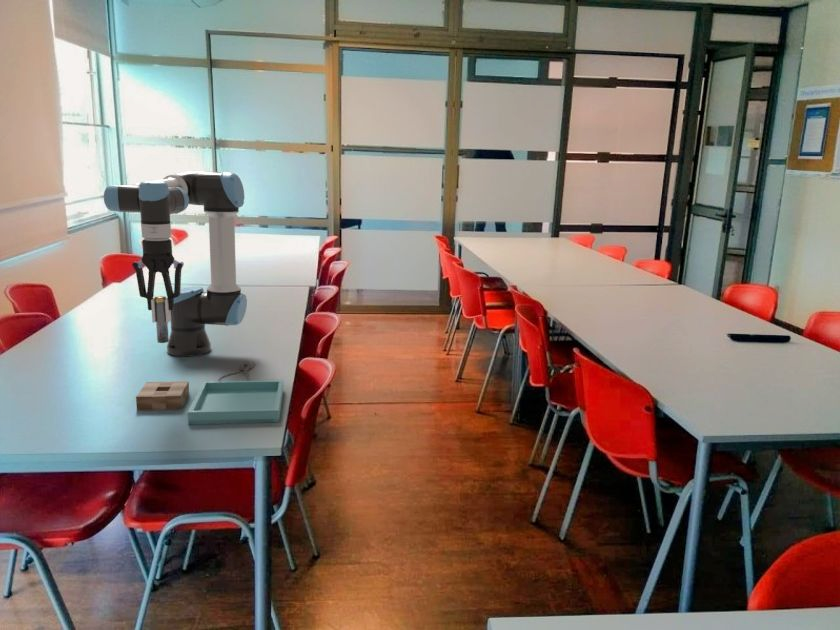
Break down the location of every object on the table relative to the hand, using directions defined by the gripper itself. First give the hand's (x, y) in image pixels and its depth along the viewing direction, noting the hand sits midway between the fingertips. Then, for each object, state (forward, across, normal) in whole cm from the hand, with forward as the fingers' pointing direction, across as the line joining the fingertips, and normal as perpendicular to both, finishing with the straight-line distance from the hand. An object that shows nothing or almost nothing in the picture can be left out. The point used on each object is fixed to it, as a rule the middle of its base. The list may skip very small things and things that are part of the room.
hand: (161, 321), depth 183 cm
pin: (+6, 0, 0) cm, 6 cm away
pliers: (+25, +17, +24) cm, 39 cm away
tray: (+25, +21, -4) cm, 33 cm away
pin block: (+25, -1, 0) cm, 25 cm away
